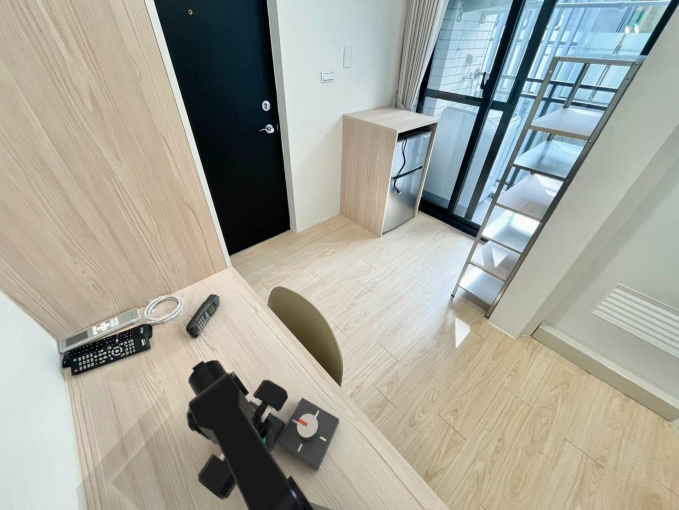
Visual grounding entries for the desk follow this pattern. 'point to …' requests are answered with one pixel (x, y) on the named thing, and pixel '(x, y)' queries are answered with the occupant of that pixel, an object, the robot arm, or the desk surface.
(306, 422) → the program dial
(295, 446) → the dial panel
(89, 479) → the desk surface
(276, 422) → the button block
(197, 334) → the mobile phone
